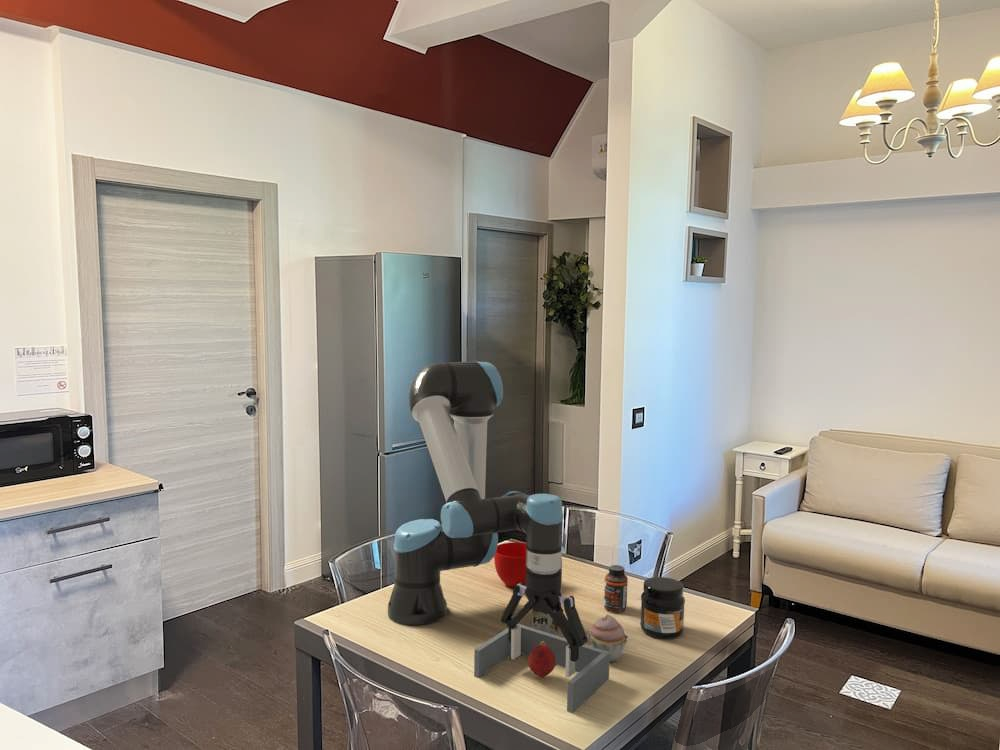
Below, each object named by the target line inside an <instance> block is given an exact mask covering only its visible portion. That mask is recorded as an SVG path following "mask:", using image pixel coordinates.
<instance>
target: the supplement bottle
mask: <svg viewBox="0 0 1000 750" xmlns="http://www.w3.org/2000/svg"><path fill="white" fill-rule="evenodd" d="M608 568H609V569H608V573H606V574H605V577H604V593H603V594H604V595H603V596H604V597H603V607H604V609H605V610H606V611H608V612H610V613H617V614H618V613H619V614H620V613H622V612H625V611H626V610H627V607H628V606H627V605H628V604H627V603H628V583H629V579H628V576H627V575H626V574H625V567H624V566H623V565H620V564H612V565H610V566H609V567H608Z"/></svg>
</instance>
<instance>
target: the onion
mask: <svg viewBox="0 0 1000 750" xmlns="http://www.w3.org/2000/svg"><path fill="white" fill-rule="evenodd" d="M545 644H546V642H544V641H541V643H540V644H539V645H538V646H536V647H535V648H534V649H533V650H532V651H531V652H530V655H528V660H527V661H528V662H527V664H528V666H529V667H528V668H529V670H530V671H531V672H532V674H534V675H535V676H537V677H538V678H540V679H543V678H545V677H547V676H548V675H549V674H551V673H552V672H553V671H554V669H555V667H556V664H555V662H556V659H555V655H554V653H553V652H552V650H551V649H550V648H549V647H547V646H546V645H545Z"/></svg>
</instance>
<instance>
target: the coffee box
mask: <svg viewBox="0 0 1000 750" xmlns="http://www.w3.org/2000/svg"><path fill="white" fill-rule="evenodd" d="M560 570H561V571H562V572H563V566H562V567H561V569H560ZM562 578H563V575H562V576H561V590H560V592H561V593H562V588H563V587H562V585H563V583H562V581H563V580H562ZM560 605H561V606H562V603H560ZM554 612H557V610H556V609H555V610H554ZM531 628H533V629H537V630H540V631H543V632H546V633H549V634H553V635H556V636H558V635H557V634H558V631H559V627H558V625H557V624H556V622H555V620H554V619H552V618H551V617H550V615H549V614H544V613H542V612H536V611H534V609H533V608H532V609H531Z"/></svg>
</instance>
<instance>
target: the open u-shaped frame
mask: <svg viewBox="0 0 1000 750" xmlns="http://www.w3.org/2000/svg"><path fill="white" fill-rule="evenodd" d="M518 625H519V626H521V654H523V655H526V656H529V655H530V652H531V651H532V650H533V649H534V648H535V647H536V646H538V645H539V644H540V643H541V641H544V642H546V644H545V645H546V646H547V647H549V648H550V649H551V650H552V652H553V653H554V655H555V659H556V662H555V666H559V667H562V668H564V669H566V646H567V645H569V643H568V642H567V640H566V638H565V637H561V636H559V635H553V634H549V633H546V632H543V631H540V630H537V629H533V628H532V627H530V626H527V625H523V624H521V623H518V624H517V626H518ZM508 635H509V634H508V627H507V628H506V629H504V630H503V631H501V632H499V633H498V634H496V635H494V636H493V637H492V638H490V639H488V640H486V641H485V642H484V643H482V644H481V645H479V646H477V647H475V648H474V654H473V655H474V660H473V661H474V662H473V663H474V664H473V667H474V670H473V672H474V673H473V675H474V677H476V678H480V677H482V676H483V675H485V674H487V672H489V671H490V670H492V669H494V668H495V667H496V666H498V665H499V664H501V663H502V662H503V661H505V660H506V659H508V658H509V657H511V642H510V641H509V639H508ZM609 660H610V652H607V651H604V650H601V649H598V648H594V647H591V645H587V644H586V643H585V644H584V645H583V646H581V647H579V658H578V660H577V661H575V672H577V673H576V674H575V675H574V676H573V677H572V678H569V680H568V681H567V693H566V695H567V697H566V711H567V712H569V713H573V714H574V712H575V711H576V710H577V709H578V708H579V707H581V706H582V704H584V703H585V702H586V701H587V700H588V699H589V698H591V696H592V695H594V694H595V692H597V691H598V690H599V689H600V688H601V687H602V686H603V685H604V684H605V683H606V682H607V681H609V679H610V662H609Z"/></svg>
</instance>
